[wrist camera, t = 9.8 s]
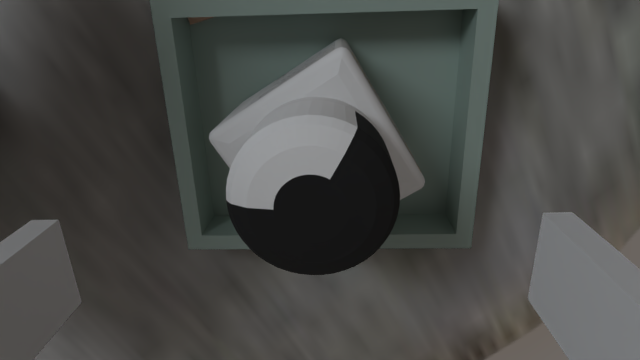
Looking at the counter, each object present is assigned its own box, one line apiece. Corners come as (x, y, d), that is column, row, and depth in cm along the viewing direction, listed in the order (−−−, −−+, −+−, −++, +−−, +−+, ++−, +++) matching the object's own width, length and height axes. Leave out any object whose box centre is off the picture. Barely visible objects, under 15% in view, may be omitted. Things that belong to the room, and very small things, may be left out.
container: (406, 141, 28) (458, 242, 16) (305, 199, 30) (283, 329, 17) (343, 35, 26) (347, 55, 13) (238, 104, 27) (159, 177, 15)
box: (204, 224, 31) (188, 249, 28) (173, -1, 26) (148, -2, 23) (456, 222, 30) (471, 248, 27) (479, -10, 25) (500, -14, 22)
